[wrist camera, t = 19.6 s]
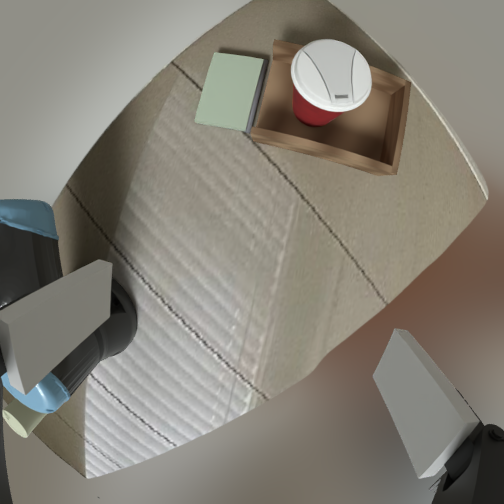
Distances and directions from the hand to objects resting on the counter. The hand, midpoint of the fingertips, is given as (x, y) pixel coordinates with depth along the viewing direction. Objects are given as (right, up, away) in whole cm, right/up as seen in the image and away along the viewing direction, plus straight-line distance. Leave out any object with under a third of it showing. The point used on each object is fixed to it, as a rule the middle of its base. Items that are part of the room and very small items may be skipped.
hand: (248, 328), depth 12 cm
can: (-58, -37, +41) cm, 80 cm away
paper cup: (+8, +22, +23) cm, 33 cm away
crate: (+11, +22, +24) cm, 34 cm away
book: (+1, +24, +23) cm, 33 cm away
